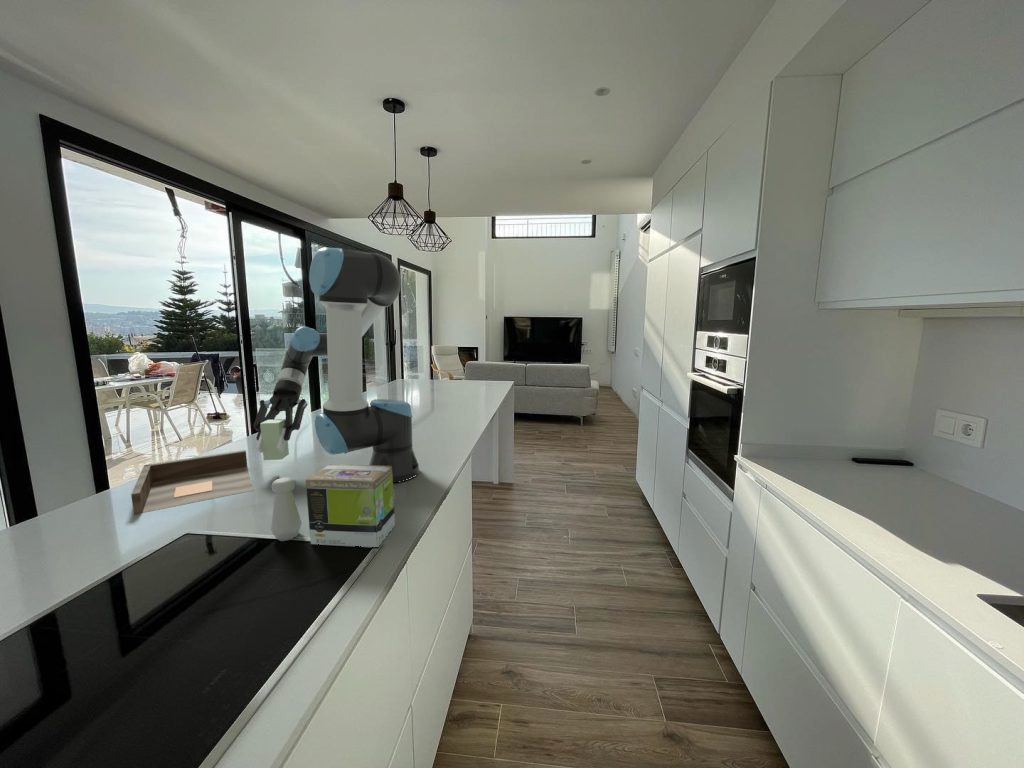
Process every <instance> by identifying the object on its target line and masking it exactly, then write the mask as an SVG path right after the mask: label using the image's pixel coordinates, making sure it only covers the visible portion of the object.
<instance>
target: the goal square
mask: <svg viewBox="0 0 1024 768" xmlns="http://www.w3.org/2000/svg"><path fill="white" fill-rule="evenodd" d="M209 491H212V481H208V482H203V483H197V484H192V485H186V486H181V487H176V489H175V494H174V498H178V497H183V496H188V495H193V494H199V493H204V492H209Z"/></svg>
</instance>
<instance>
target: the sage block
mask: <svg viewBox="0 0 1024 768" xmlns="http://www.w3.org/2000/svg"><path fill="white" fill-rule="evenodd" d="M285 426H286V418H283V419H282V418H279V419H278V418H275V419H272V420H266V421H264V422H262V423H260V427H261V438H262V448H263V453H262V456H263V459H262V460H263V461H273V460H274V461H277V460H283V459H285V458H286V457H287V456H288V455H290V451H289V449H290V448H289V441H286V444H285V447H284V451H283V452H280V451H279V450H278V448H277V445H278V442H279V439H280V436H281V432H282V429H283V428H286V427H285Z"/></svg>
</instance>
